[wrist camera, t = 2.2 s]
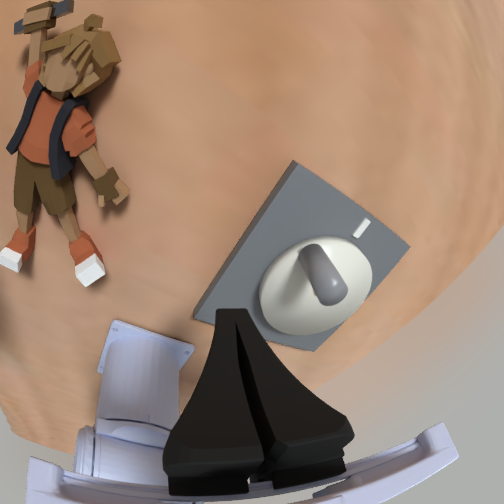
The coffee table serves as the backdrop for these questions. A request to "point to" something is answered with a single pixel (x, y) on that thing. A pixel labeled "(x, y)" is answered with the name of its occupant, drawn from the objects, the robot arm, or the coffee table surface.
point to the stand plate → (288, 234)
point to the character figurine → (60, 132)
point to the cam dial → (314, 285)
